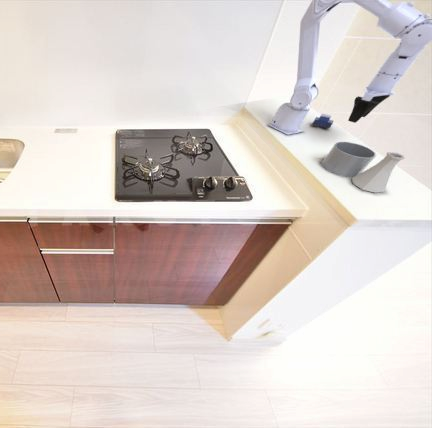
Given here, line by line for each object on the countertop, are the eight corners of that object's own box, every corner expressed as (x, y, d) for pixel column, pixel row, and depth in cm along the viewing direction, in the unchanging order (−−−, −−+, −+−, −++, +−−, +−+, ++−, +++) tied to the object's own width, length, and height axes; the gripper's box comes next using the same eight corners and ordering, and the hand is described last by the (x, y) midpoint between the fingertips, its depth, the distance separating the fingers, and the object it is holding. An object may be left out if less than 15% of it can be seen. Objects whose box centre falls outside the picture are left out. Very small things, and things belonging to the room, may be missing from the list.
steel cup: (314, 163, 75) (327, 145, 70) (335, 157, 77) (349, 139, 73) (345, 179, 68) (361, 160, 64) (367, 173, 71) (384, 154, 66)
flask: (389, 194, 63) (423, 163, 56) (359, 191, 64) (389, 160, 57) (373, 179, 68) (403, 149, 61) (345, 177, 69) (371, 146, 62)
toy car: (310, 126, 95) (317, 115, 91) (312, 123, 97) (318, 112, 94) (328, 130, 92) (335, 119, 89) (329, 127, 94) (336, 116, 91)
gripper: (400, 80, 62) (362, 128, 72) (415, 72, 68) (378, 117, 78) (369, 74, 67) (337, 120, 76) (386, 67, 72) (354, 111, 82)
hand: (356, 118), depth 77 cm, fingers open, 7 cm apart
